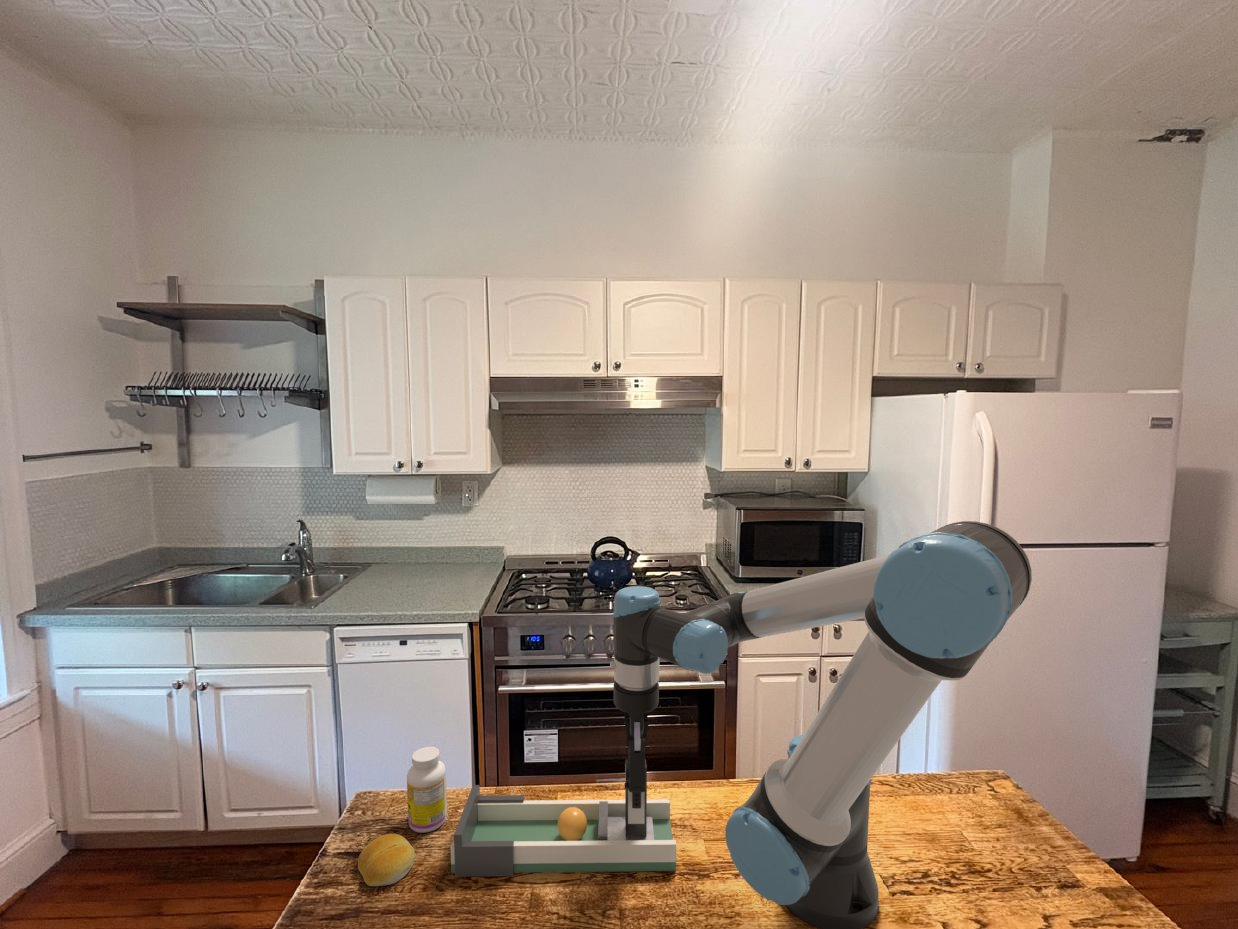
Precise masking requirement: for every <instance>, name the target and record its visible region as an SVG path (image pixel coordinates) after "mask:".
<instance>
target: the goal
mask: <svg viewBox="0 0 1238 929" xmlns="http://www.w3.org/2000/svg"><path fill="white" fill-rule="evenodd" d="M480 793H481V792H480V784H474V785H472V786H471V788H470V792H469V793H468V794H469V795H468V797H467V799H466V803H465V804H464V808H463V810H462V813H461V816H460V818H459V820H458V824H457V826H456V829H455V831H454V834H453V842H454V854H455V873H454V877H457V878H458V877H513V876H514V874H515V872H514V849H513V846H514V841H471V840H472V837H473V834H474V831H475V828H476V825H477V822H478V803H509V802H524V801H526V799H525V795H523V794H518V795H516V794H515V795H514V794H513V795H505V794H504V795H481V794H480Z"/></svg>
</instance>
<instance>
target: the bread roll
mask: <svg viewBox="0 0 1238 929" xmlns="http://www.w3.org/2000/svg"><path fill="white" fill-rule="evenodd" d="M415 855H416V851H415V848H414V847H413V845H411V843H410V842H409V840H407V839H406V838H405V837H404V836H403V835H401V834H397V833H386V834H383V835H380V836H377V837H375V838H374V839H373V840H371V842H369V843H368V844H367V845H366V846H365V847H364V848H363V849H362V851H361V852H360V854H359V856H358V859H357V860H358V861H357V868H358V871H359V872H360V875H361V876H362V878H363V881H364V882H365V884H366V885H367V886H370V887H384V886H389V885H393V884H395V883H397V882H399V881H401V879H403V878H404V877H406V875H408V873H409V872H410V870H411V868H412V867H413V865H414V863H415V857H416V856H415Z"/></svg>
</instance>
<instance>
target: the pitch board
mask: <svg viewBox="0 0 1238 929" xmlns="http://www.w3.org/2000/svg"><path fill="white" fill-rule="evenodd" d="M599 801H608V817H625V799H568V800H567V799H558V800H557V799H556V800H555V799H554V800H553V799H544V800H543V799H541V800H538V799H537V800H533V799H532V800H530V799H529V800H526V799H525V801H524V802H509V803H478V822H477V825H476V828H475V831H474V834H473V837H472V840H471V841H514V846H513V849H514V873H567V872H568V873H592V872H594V873H596V872H597V873H598V872H605V873H606V872H607V873H608V872H611V873H613V872H676V871H677V840H676V839H674V838H673V831H672V824H671V801H670V799H668V798H667V799H665V798H662V799H658V798H655V799H647V817H652V821H653V831H654V840H613V841H598V829H599ZM570 807H576V808H579V809H580V810H581V811H583V813H584V814H585V816H586V819H587V829H586V832H585V834H584V835H583V837H582V838H581V839H579V840H577V841H566V840H564V839H563V838H562V837H561V836H560V834H559V832H558V826H557V825H558V819H559V816H560V815H561V813H562V812H563V811H564V810H565V809H567V808H570ZM450 870H451V871H450V872H451V873H450V874H455V854H454V841H452V842H451V844H450Z"/></svg>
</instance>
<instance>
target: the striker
mask: <svg viewBox="0 0 1238 929" xmlns="http://www.w3.org/2000/svg"><path fill="white" fill-rule="evenodd" d="M624 762H625V763H624V767H625V768H624V769H625V770H624V771H625V772H624V774H625V776H624V784H625V783H629V759H628V758H626V759H625V761H624ZM646 763H647V759H646V758H645V800H644V824H628V789H625V788H624V794H625V798H624V800H625V817H608V801H599V829H598V841H613V840H654V831H653V821H652V817H647V798H648V797H647V795H648V794H647V793H648V791H647V790H648V788H647V786H648V785H647V784H648V783H647V782H648V777H647V776H648V774H647V772H648V771H647V770H648V764H647V765H646Z"/></svg>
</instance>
